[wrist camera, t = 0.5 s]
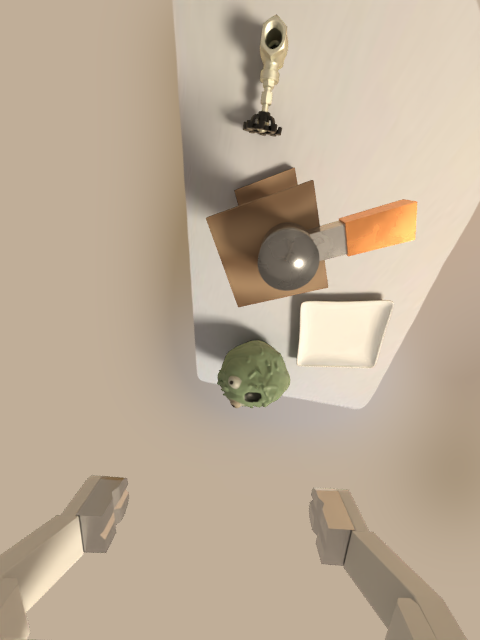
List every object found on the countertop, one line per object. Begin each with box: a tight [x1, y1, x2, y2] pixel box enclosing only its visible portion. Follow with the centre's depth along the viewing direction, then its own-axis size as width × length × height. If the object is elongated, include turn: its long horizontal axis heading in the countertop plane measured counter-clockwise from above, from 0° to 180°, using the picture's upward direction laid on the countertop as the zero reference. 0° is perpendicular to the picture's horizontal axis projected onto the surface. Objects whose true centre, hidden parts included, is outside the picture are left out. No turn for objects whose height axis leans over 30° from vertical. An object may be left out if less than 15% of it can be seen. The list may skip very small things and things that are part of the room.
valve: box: [243, 14, 288, 137], centre depth 36 cm, size 7×7×12 cm
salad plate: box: [297, 300, 394, 368], centre depth 60 cm, size 21×21×3 cm
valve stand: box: [206, 168, 328, 307], centre depth 38 cm, size 16×12×26 cm
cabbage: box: [217, 340, 290, 408], centre depth 60 cm, size 16×19×20 cm
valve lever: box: [258, 199, 417, 291], centre depth 23 cm, size 6×15×5 cm, turn 108°
